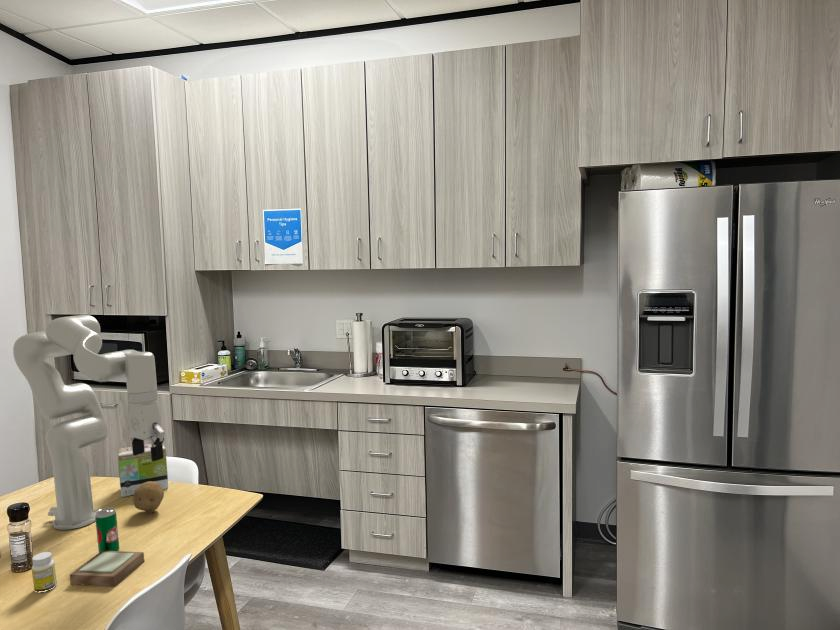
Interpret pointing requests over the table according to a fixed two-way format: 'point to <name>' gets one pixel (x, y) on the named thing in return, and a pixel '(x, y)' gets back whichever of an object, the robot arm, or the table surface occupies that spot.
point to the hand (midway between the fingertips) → (148, 456)
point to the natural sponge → (148, 496)
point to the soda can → (107, 529)
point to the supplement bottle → (43, 572)
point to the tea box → (140, 469)
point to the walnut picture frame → (107, 568)
